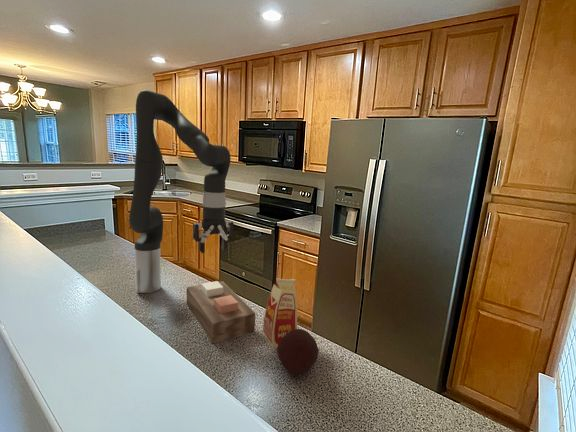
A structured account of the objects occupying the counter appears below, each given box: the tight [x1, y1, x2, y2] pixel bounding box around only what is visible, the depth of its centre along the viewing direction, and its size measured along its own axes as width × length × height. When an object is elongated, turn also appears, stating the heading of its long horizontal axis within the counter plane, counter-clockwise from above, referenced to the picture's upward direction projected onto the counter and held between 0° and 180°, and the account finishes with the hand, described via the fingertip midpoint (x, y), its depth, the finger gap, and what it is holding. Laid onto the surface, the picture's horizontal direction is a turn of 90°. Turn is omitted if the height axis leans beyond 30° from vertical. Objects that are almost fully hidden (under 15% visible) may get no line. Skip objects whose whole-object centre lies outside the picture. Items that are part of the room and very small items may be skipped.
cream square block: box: [200, 280, 223, 297], centre depth 112 cm, size 6×6×4 cm
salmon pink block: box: [214, 295, 238, 314], centre depth 102 cm, size 6×6×4 cm
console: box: [186, 280, 257, 344], centre depth 108 cm, size 14×28×6 cm, turn 33°
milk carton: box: [262, 277, 298, 349], centre depth 97 cm, size 9×9×20 cm
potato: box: [276, 328, 319, 378], centre depth 84 cm, size 11×13×10 cm
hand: (213, 251), depth 110 cm, fingers open, 7 cm apart
